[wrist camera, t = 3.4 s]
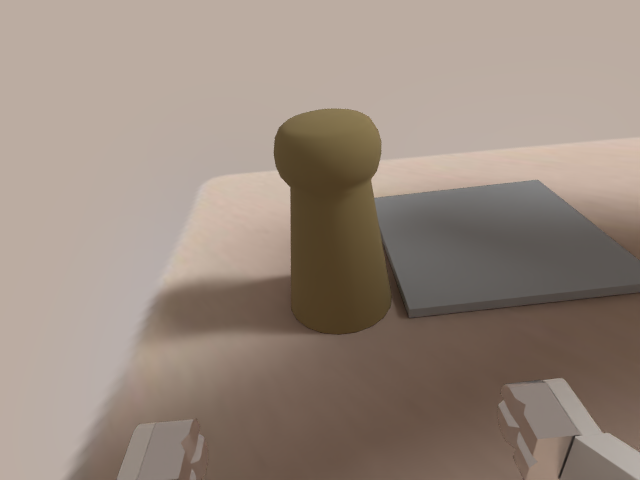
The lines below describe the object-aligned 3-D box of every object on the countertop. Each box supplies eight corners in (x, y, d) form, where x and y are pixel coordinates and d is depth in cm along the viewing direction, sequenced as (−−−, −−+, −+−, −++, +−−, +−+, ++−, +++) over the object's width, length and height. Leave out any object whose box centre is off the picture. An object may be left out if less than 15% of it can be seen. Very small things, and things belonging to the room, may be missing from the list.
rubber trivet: (536, 186, 35) (537, 179, 35) (662, 289, 23) (665, 281, 23) (369, 205, 35) (369, 198, 35) (409, 317, 23) (409, 309, 23)
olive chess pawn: (402, 276, 27) (403, 97, 21) (375, 344, 22) (367, 137, 16) (314, 263, 29) (293, 97, 23) (272, 322, 24) (234, 133, 18)
